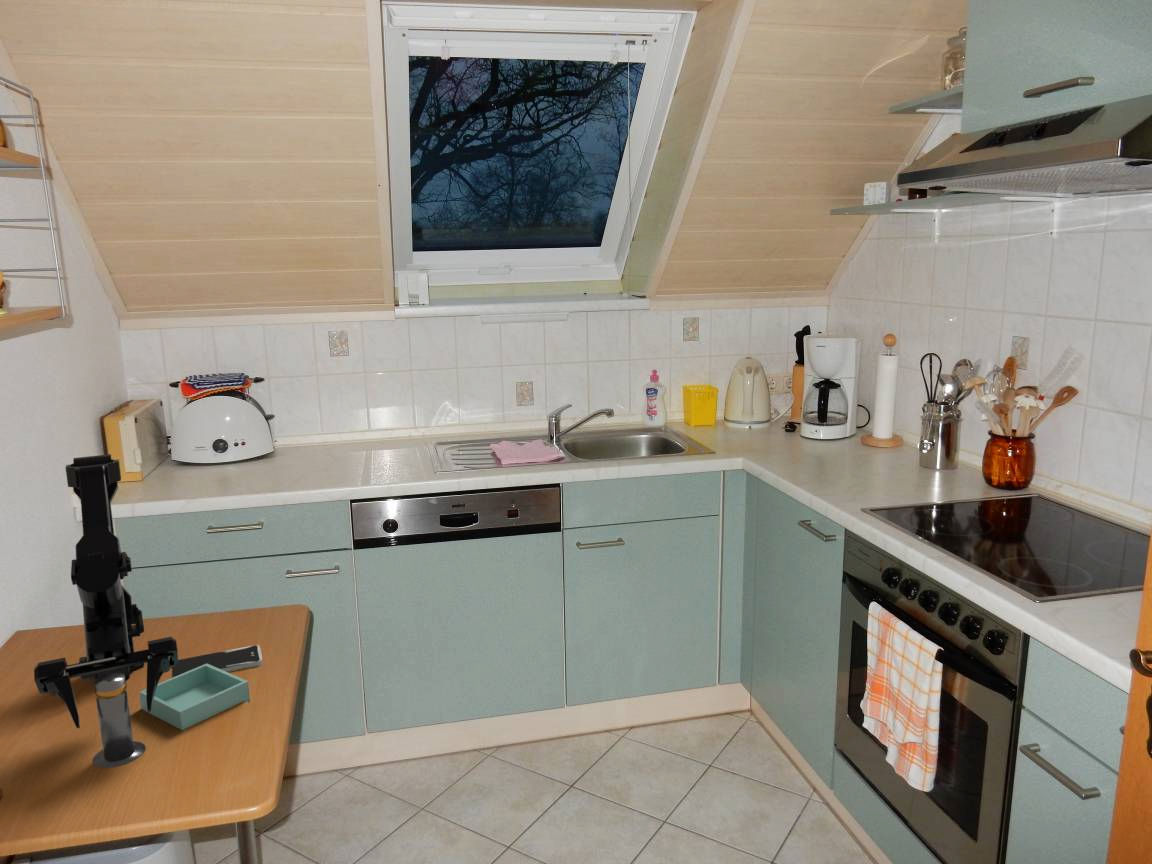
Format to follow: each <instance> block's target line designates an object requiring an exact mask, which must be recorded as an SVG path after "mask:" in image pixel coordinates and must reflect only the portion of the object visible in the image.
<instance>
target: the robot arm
mask: <svg viewBox="0 0 1152 864" xmlns="http://www.w3.org/2000/svg"><path fill="white" fill-rule="evenodd" d="M112 458H113V457H112V454H110V453H109V454H99V455H92V456H91V455H90V456H82V457H80V456H79V457H73V463H71V464H66V465H65V474H66V475H65V476H66V483H67V487H68V488H73V489H72V491H73V492H74V493H75V495H76V496H77V498H79V500H80V511H81V522H82V524H81V525H82V536H81V538H80V539H79V540H78V542H77V543H76V544H75V558H74V559H71V567H70V580H71V584H72V586H74V585H75V586H76V588H77V592H78V596H79V600H80V601H81V603H82V612H83V613H82V615H83V625H84V638H85V639H84V640H85V641H84V642H85V651H86V652H85V653H86V656H81V657H79V660H78V663H73V664H68V662H67V660H66V657H61V658H56V659H55V658H54V659H50V660H45V661H41V662H37V664H36V665H35V667H34V668H33V674H34V675H33V676H34V683H35V685H36V687H37V690H38V692H39V694H49V696H50V697H59V698H60V700H62V702H63V704H64V705H65V706H66V708H67V710H68V712H69V714H70V715H69V716H70V717H71V719H72V721H73V724H74V725H75V727H76V729H80V728H81V723H80V716H79V715H80V714H79V710H78V707H77V702H76V699H75V694H74V693H75V692H74V688H73V686H72V683H71V679H73V678H78V677H80V679H81V680H82V681H85V680H88V681H92V680H94V681H95V680H96V679H97V678H99V677H101V676H103V675H106V674H111V673H122V674H124V675H125V681H126V682H127V681H128V680H129V679H130V678H131V672H132V671H135V670H137V669H140V668H143V667H144V666H145V664H146V689H147V692H146V701H147V710H148V712H151V709H152V705H153V700H154V696H155V692H156V688H157V685H158V684H159V683H160V679H161V678H162V676H163V674H165V673H168V672H170V670H171V667H172V668H173V666H176V665H178V660H179V653H178V646H177V645H178V644H177V640H176V639H175V638H174V637H173V636H168V637H163V638H158V639H152V640H148V641H147V648H148V649H141V650H137V651H135V645H134V637H135V638H138V637H141V634H143V633H144V632H145V627H144V618H143V611H142V610H141V609H140V608H139V607H138V606H137V603H133V602H132V601H133V600H132V595H131V593H130V592H129V591H128V590H127V588H125V587H124V585H122V580H124V578H125V577H128V576H129V572H133V571H132V559H131V557H130V556H129V555H128V554H127V553H126V551H122V549H121V543H120V539H119V538H118V537H117V536H116V535H115V529H114V520H113V513H112V512H113V511H112V506H111V505H112V502H113V499H114V497H115V495H116V493H117V492H118V490H119V484H118V483H119V482H121V481H122V473H121V471H122V470H121V466H120V465H121V464H120V459H119V458H118V459H112ZM148 712H147V713H148Z"/></svg>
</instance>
